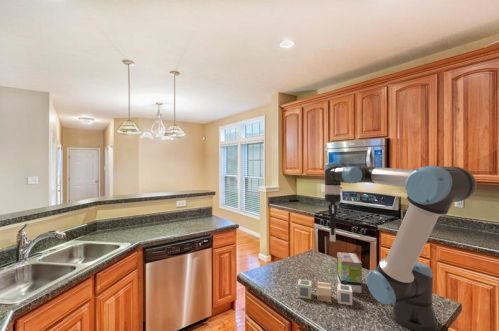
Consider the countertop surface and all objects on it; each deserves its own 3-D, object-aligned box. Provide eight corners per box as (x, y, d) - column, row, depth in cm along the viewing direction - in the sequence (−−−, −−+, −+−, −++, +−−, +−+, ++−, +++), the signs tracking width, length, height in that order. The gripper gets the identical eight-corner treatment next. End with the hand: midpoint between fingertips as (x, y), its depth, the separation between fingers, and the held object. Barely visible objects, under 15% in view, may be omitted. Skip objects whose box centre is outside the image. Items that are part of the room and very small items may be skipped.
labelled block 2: (352, 305, 111) (352, 291, 111) (338, 303, 113) (338, 289, 113) (351, 298, 117) (351, 285, 117) (337, 296, 119) (337, 283, 119)
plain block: (331, 302, 114) (331, 289, 114) (317, 300, 116) (317, 287, 116) (330, 296, 120) (330, 283, 120) (317, 294, 122) (317, 281, 122)
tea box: (362, 293, 123) (362, 262, 123) (340, 291, 125) (340, 261, 125) (355, 280, 137) (355, 252, 137) (336, 278, 139) (336, 251, 139)
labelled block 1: (310, 299, 117) (310, 286, 117) (297, 297, 118) (297, 284, 118) (311, 293, 122) (311, 280, 123) (298, 291, 124) (299, 278, 124)
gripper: (341, 195, 119) (341, 245, 118) (339, 192, 131) (339, 238, 131) (324, 194, 121) (324, 244, 121) (324, 192, 133) (324, 237, 133)
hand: (332, 240), depth 126 cm, fingers closed
